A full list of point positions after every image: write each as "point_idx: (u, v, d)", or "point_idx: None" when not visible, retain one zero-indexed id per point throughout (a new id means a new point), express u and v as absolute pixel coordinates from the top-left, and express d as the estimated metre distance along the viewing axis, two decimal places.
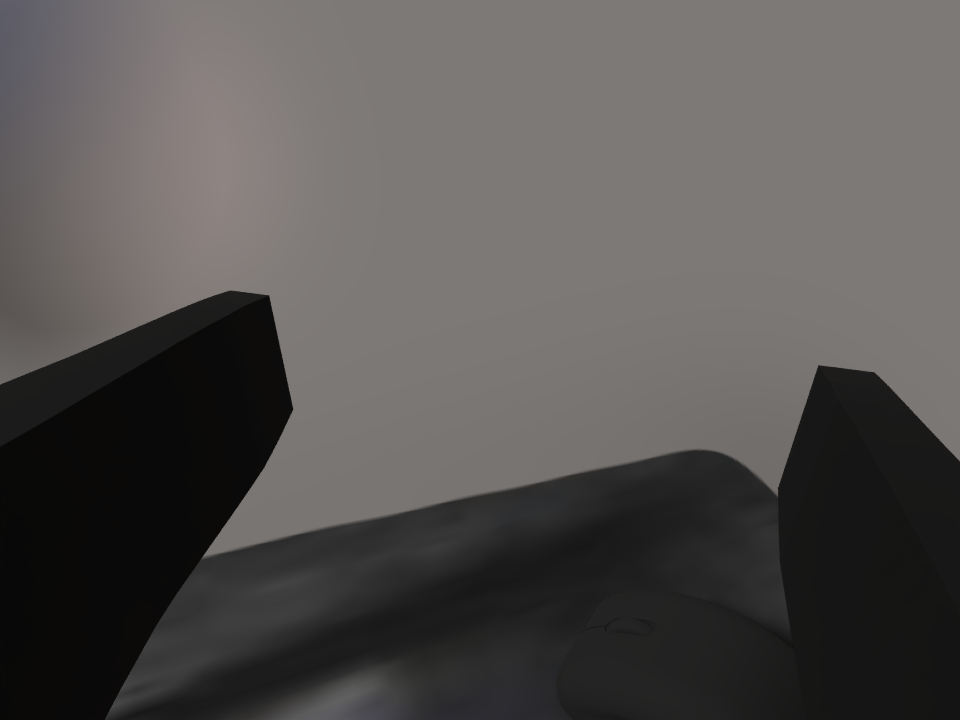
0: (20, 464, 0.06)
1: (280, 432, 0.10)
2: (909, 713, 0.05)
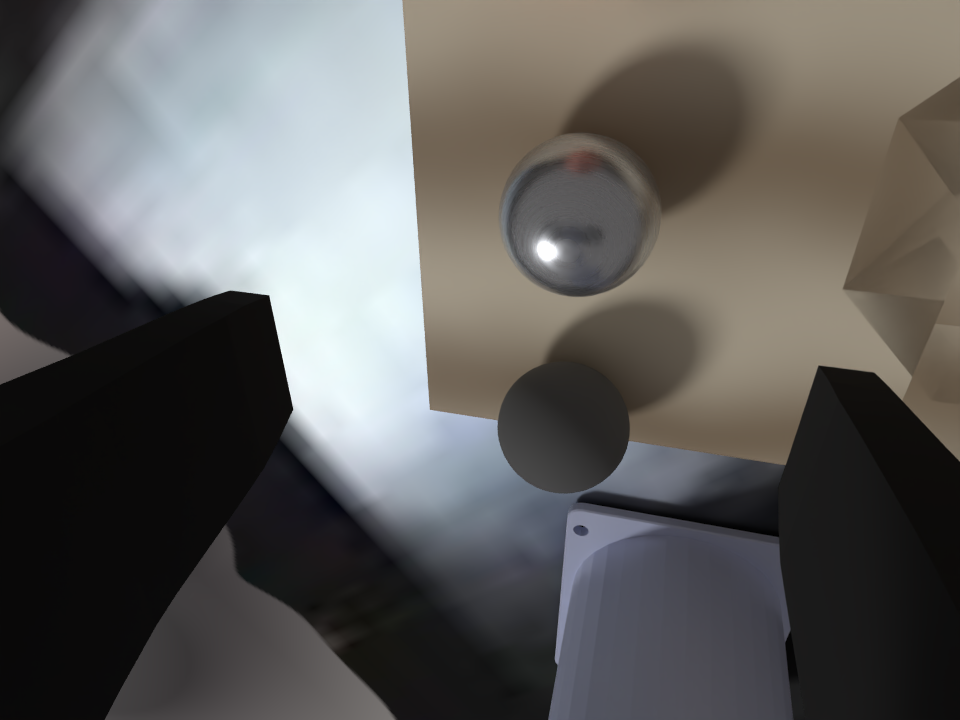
0: (20, 464, 0.06)
1: (280, 432, 0.10)
2: (909, 713, 0.05)
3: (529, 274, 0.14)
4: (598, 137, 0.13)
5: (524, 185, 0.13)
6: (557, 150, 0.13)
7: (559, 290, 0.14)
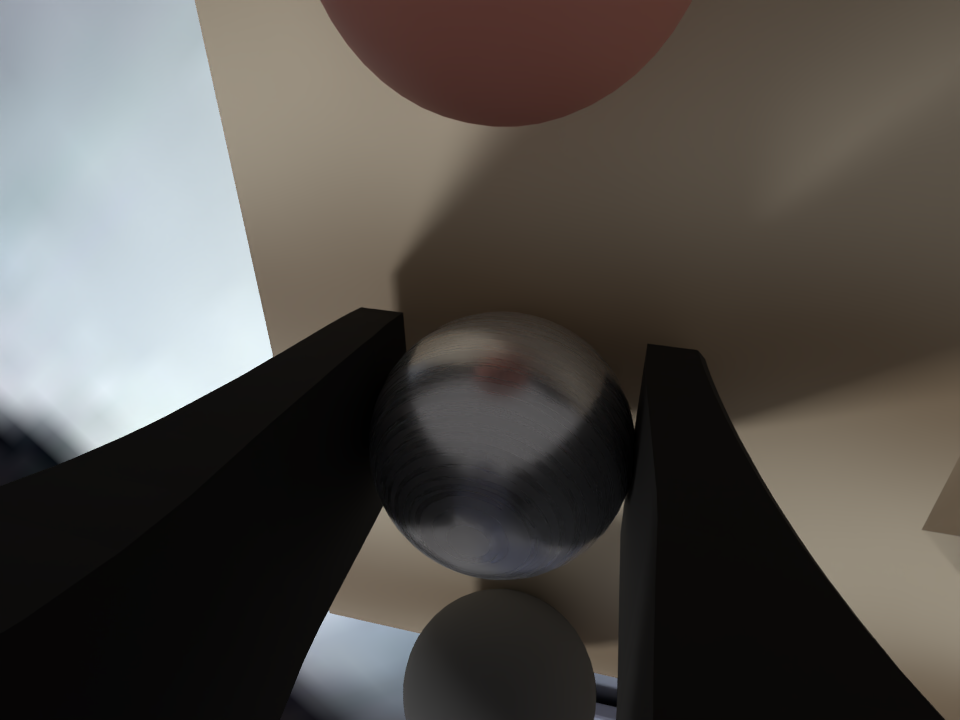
0: (215, 503, 0.06)
1: None
2: (636, 654, 0.06)
3: (416, 547, 0.08)
4: (525, 334, 0.08)
5: (397, 420, 0.08)
6: (453, 362, 0.07)
7: (466, 574, 0.08)
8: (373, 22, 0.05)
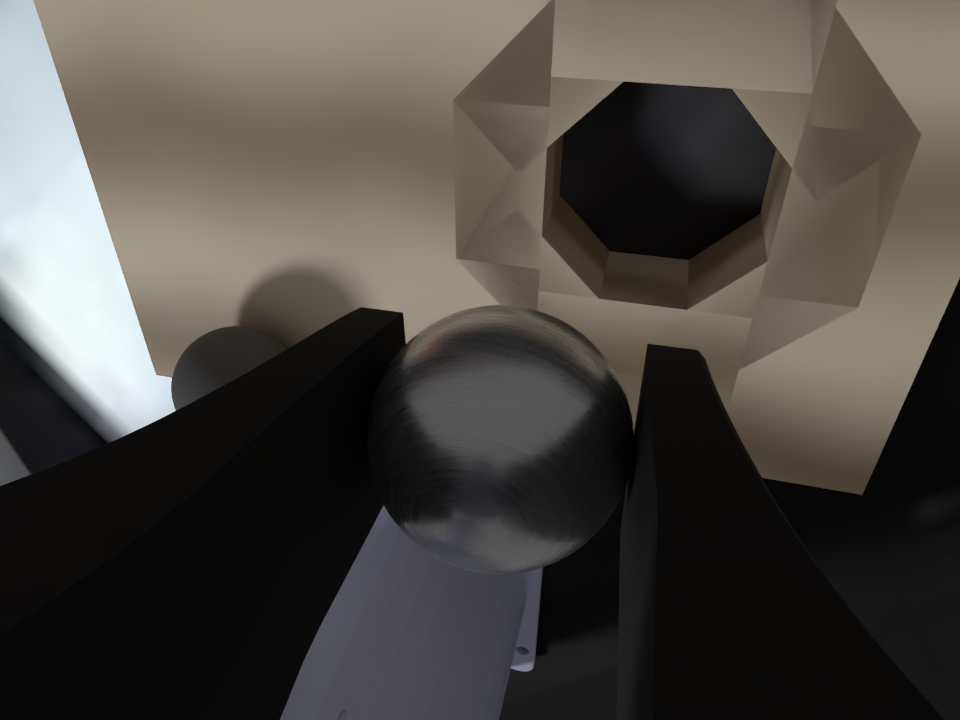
0: (215, 503, 0.06)
1: None
2: (636, 654, 0.06)
3: (414, 542, 0.08)
4: (523, 327, 0.08)
5: (395, 413, 0.08)
6: (450, 355, 0.07)
7: (464, 568, 0.08)
8: None
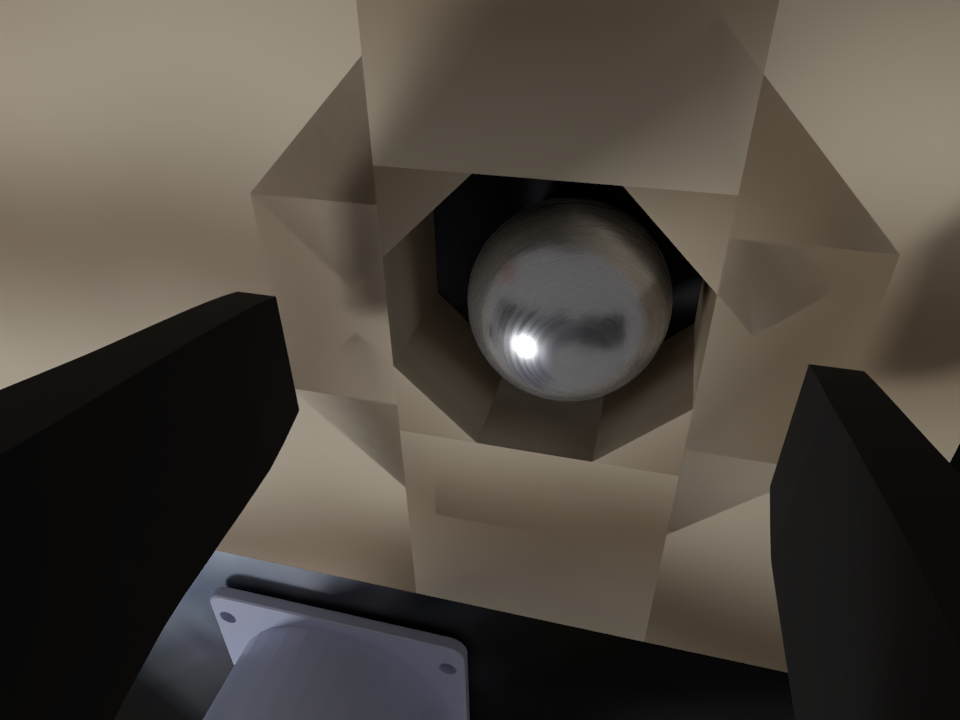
0: (30, 466, 0.06)
1: (287, 433, 0.10)
2: (893, 710, 0.05)
3: (523, 384, 0.11)
4: (591, 204, 0.10)
5: (510, 277, 0.10)
6: (547, 228, 0.10)
7: (562, 399, 0.11)
8: None
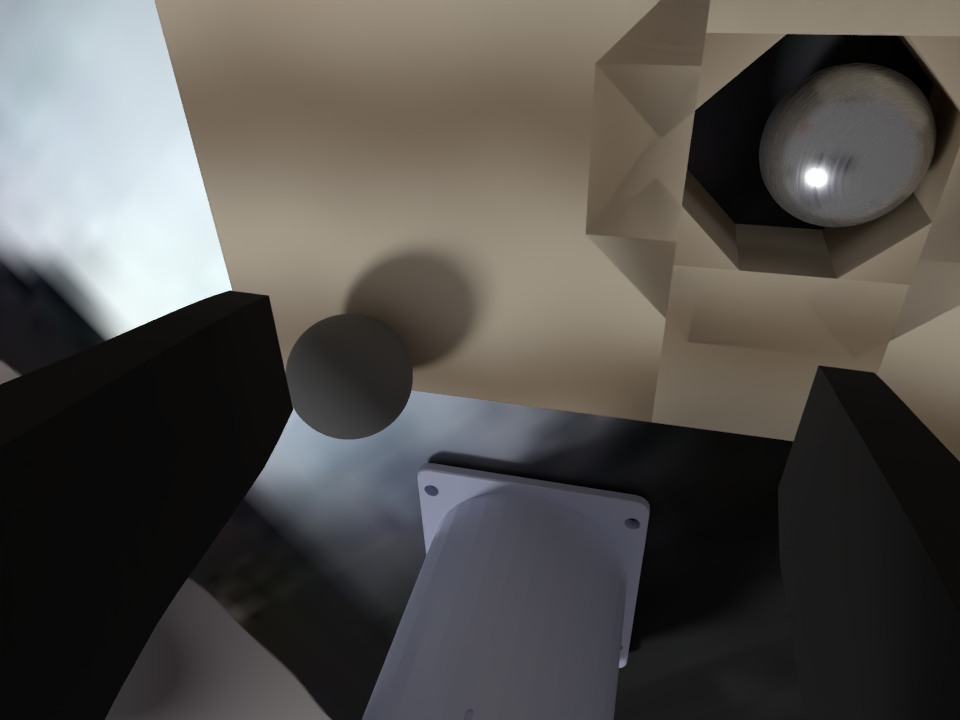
0: (20, 464, 0.06)
1: (280, 432, 0.10)
2: (908, 713, 0.05)
3: (835, 209, 0.14)
4: (873, 64, 0.14)
5: (838, 118, 0.13)
6: (857, 79, 0.13)
7: (860, 218, 0.14)
8: None
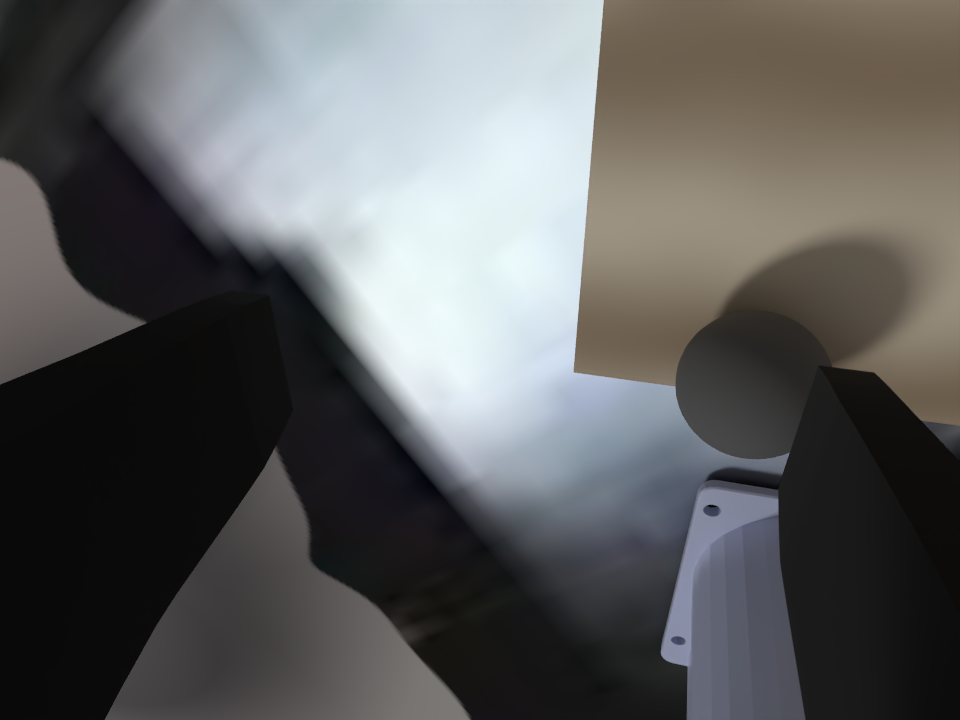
0: (20, 464, 0.06)
1: (280, 432, 0.10)
2: (909, 713, 0.05)
3: None
4: None
5: None
6: None
7: None
8: None
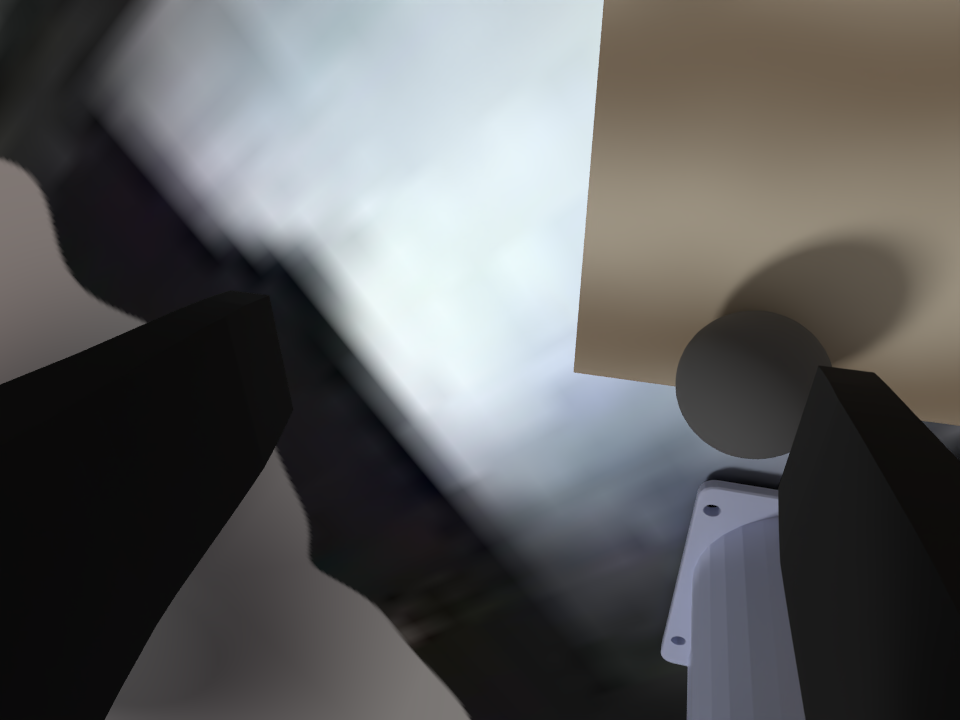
0: (20, 464, 0.06)
1: (280, 432, 0.10)
2: (909, 713, 0.05)
3: None
4: None
5: None
6: None
7: None
8: None
